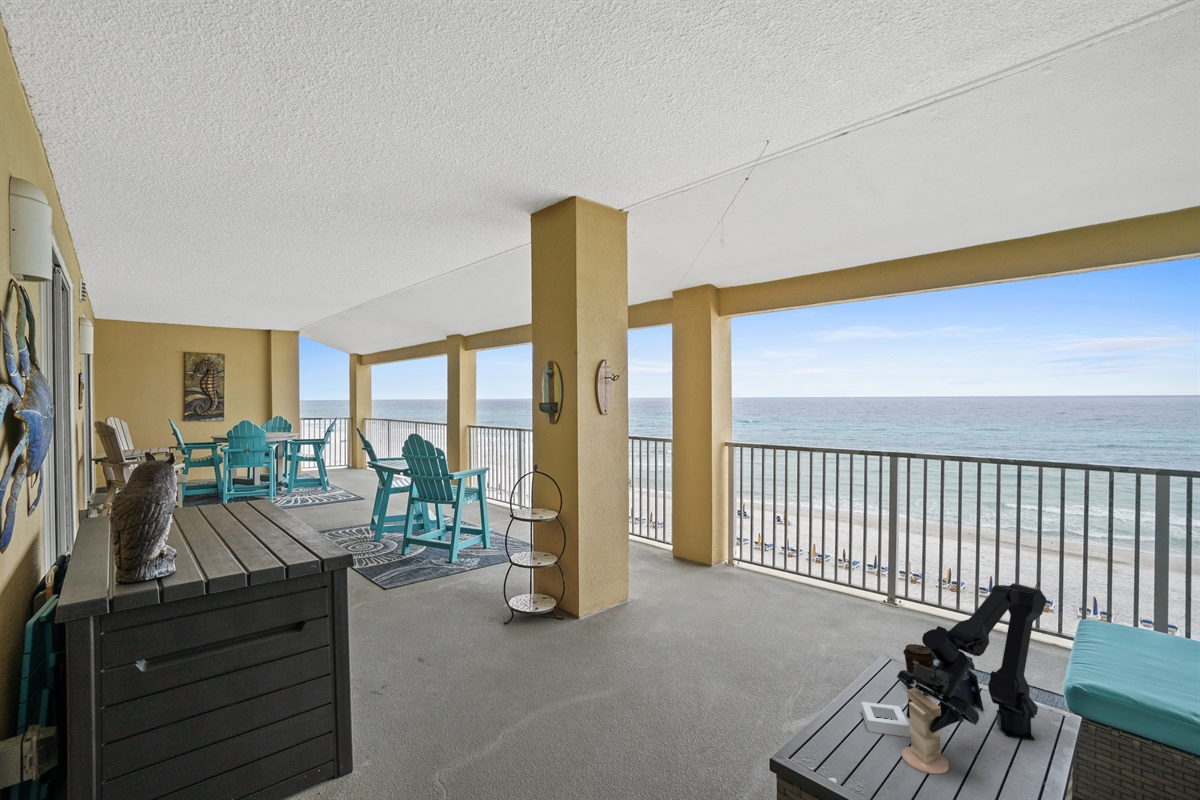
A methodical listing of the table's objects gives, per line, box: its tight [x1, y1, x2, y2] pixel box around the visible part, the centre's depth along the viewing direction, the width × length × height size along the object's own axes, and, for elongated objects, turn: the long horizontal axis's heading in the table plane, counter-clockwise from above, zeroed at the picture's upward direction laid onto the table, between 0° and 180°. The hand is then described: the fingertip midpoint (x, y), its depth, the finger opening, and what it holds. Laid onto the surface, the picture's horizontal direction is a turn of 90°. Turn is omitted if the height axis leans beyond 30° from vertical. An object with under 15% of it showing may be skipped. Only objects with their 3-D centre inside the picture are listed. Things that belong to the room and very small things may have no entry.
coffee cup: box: [902, 643, 936, 696], centre depth 166 cm, size 9×8×13 cm
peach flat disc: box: [901, 745, 950, 775], centre depth 132 cm, size 10×10×1 cm
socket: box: [860, 701, 910, 738], centre depth 148 cm, size 10×10×3 cm
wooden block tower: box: [906, 688, 942, 763], centre depth 132 cm, size 4×8×15 cm, turn 12°
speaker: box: [953, 668, 985, 712], centre depth 158 cm, size 8×6×10 cm
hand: (919, 724), depth 132 cm, fingers open, 6 cm apart
